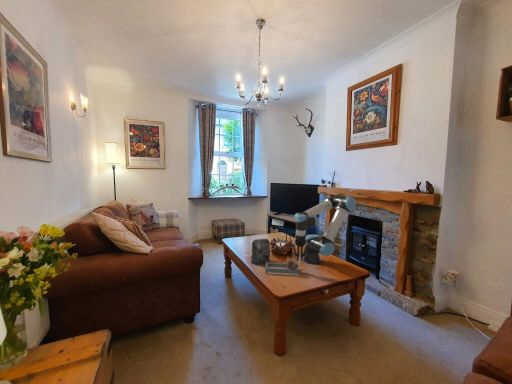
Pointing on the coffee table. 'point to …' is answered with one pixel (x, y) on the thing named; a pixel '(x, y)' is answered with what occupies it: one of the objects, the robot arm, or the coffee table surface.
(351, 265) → the coffee table surface
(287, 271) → the chute
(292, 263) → the walnut block
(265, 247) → the stone block
